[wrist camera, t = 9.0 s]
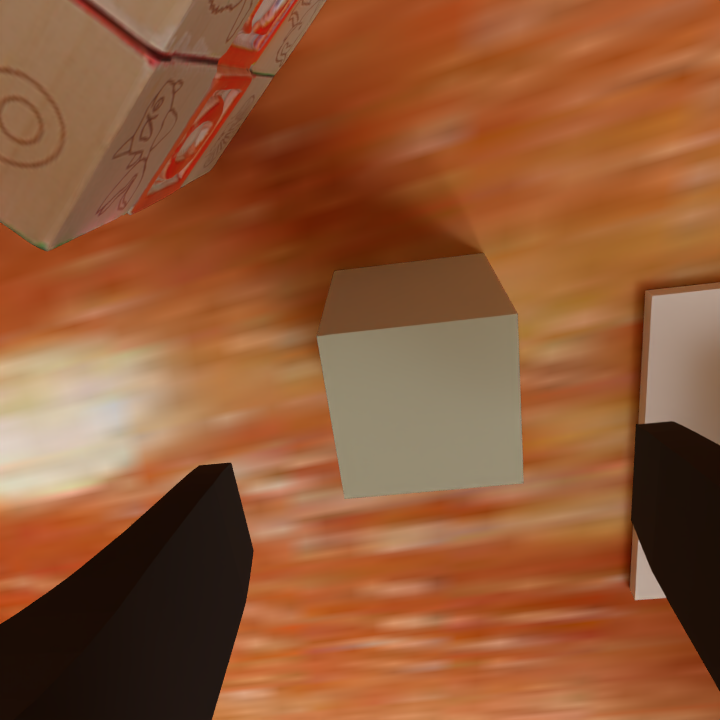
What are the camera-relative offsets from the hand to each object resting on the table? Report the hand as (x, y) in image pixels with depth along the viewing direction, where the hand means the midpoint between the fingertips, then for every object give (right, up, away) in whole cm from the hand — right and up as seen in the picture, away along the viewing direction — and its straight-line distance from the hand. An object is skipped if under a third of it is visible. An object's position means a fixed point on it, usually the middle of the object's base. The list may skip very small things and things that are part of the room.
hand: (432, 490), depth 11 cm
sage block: (0, +3, +7) cm, 8 cm away
